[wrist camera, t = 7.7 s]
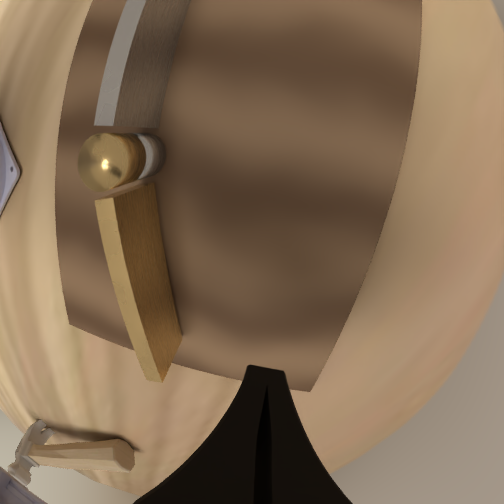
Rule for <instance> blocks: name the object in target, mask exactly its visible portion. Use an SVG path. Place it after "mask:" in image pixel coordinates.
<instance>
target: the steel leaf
mask: <svg viewBox="0 0 504 504" xmlns="http://www.w3.org/2000/svg"><path fill="white" fill-rule="evenodd" d="M190 3H191V0H127V2H126V4H125V7H124V9H123V12H122V15H121V17H120V20H119V23H118V26H117V29H116V32H115V35H114V38H113V41H112V45H111V48H110V52H109V55H108V59H107V63H106V67H105V71H104V75H103V79H102V84H101V88H100V93H99V98H98V104H97V109H96V115H95V122H94V125H98V126H127V127H145V128H159V122H160V117H161V112H162V106H163V101H164V97H165V92H166V87H167V83H168V79H169V74H170V70H171V66H172V62H173V58H174V55H175V51H176V47H177V44H178V40H179V37H180V33H181V30H182V27H183V24H184V20H185V17H186V14H187V11H188V8H189V5H190ZM131 134H134V135H135V136H137V137H138V138H139V139H140V140H141V141H142V143H143V145H144V147H145V150H146V164H145V167H144V170H143V172H142V174H141V175H140V176H139V177H138V178H137V179H136V180H135V181H138V180H141V179H144V178H148V177H151V176H153V175H155V174H157V173H158V172H159V171H160V170H161V169H162V167H163V165H164V163H165V160H166V148H165V145H164V143H163V142H162V140H161V139H160V138H159V137H158V136H156V135H154V134H151V133H131ZM135 181H133V182H135Z"/></svg>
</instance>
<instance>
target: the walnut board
mask: <svg viewBox="0 0 504 504" xmlns="http://www.w3.org/2000/svg"><path fill="white" fill-rule="evenodd" d="M126 2H127V0H93V1H92V4H91V6H90V9H89V11H88V14H87V16H86V19H85V22H84V25H83V27H82V30H81V33H80V36H79V40H78V43H77V46H76V49H75V53H74V56H73V60H72V64H71V68H70V72H69V76H68V81H67V85H66V90H65V95H64V101H63V106H62V113H61V119H60V127H59V135H58V145H57V157H56V176H55V216H56V235H57V248H58V258H59V267H60V274H61V281H62V288H63V294H64V299H65V305H66V310H67V315H68V320H69V324H70V325H73V326H75V327H77V328H79V329H82V330H84V331H86V332H88V333H91V334H93V335H96V336H98V337H100V338H103V339H105V340H108V341H110V342H113V343H116V344H118V345H121V346H123V347H126V348H129V349H132V350H134V347H133V345H132V342H131V339H130V337H129V334H128V331H127V328H126V325H125V322H124V319H123V316H122V313H121V310H120V307H119V304H118V300H117V297H116V294H115V290H114V287H113V283H112V279H111V276H110V272H109V268H108V264H107V260H106V256H105V252H104V247H103V243H102V238H101V233H100V228H99V223H98V218H97V212H96V206H95V200H97V199H100V198H102V197H105V196H107V195H110V194H113V193H115V192H118V191H121V190H124V189H126V188H129V187H132V186H135V185H138V184H145V183H155V191H156V199H157V207H158V214H159V222H160V228H161V235H162V241H163V247H164V253H165V259H166V264H167V270H168V275H169V280H170V285H171V290H172V295H173V300H174V304H175V309H176V313H177V318H178V322H179V326H180V331H181V335H182V339H183V340H182V342H181V344H180V346H179V348H178V350H177V352H176V354H175V357H174V359H173V361H172V363H174V364H178V365H181V366H185V367H188V368H192V369H196V370H199V371H203V372H207V373H211V374H215V375H219V376H223V377H228V378H232V379H237V380H241V381H243V378H244V374H245V371H246V368H247V366H248V365H250V364H251V365H256V366H261V367H267V368H272V369H277V370H283V371H284V372H285V374H286V379H287V382H288V386H289V389H292V390H299V391H307V392H310V391H311V390H312V388H313V386H314V384H315V382H316V381H317V379H318V377H319V375H320V373H321V371H322V369H323V368H324V366H325V364H326V362H327V360H328V358H329V356H330V354H331V352H332V350H333V348H334V346H335V344H336V342H337V340H338V338H339V336H340V333H341V331H342V329H343V327H344V325H345V323H346V320H347V318H348V316H349V314H350V312H351V309H352V307H353V305H354V302H355V300H356V298H357V295H358V293H359V290H360V288H361V286H362V283H363V281H364V278H365V276H366V273H367V270H368V268H369V265H370V262H371V260H372V257H373V254H374V252H375V249H376V246H377V243H378V240H379V237H380V234H381V231H382V228H383V225H384V222H385V219H386V216H387V213H388V210H389V206H390V203H391V200H392V196H393V193H394V189H395V186H396V182H397V178H398V174H399V171H400V167H401V163H402V158H403V154H404V150H405V145H406V141H407V136H408V131H409V126H410V121H411V116H412V110H413V104H414V98H415V91H416V84H417V76H418V67H419V57H420V45H421V27H422V0H191V3H190V5H189V8H188V11H187V14H186V17H185V20H184V24H183V27H182V30H181V33H180V37H179V40H178V44H177V47H176V51H175V55H174V58H173V62H172V66H171V70H170V74H169V79H168V83H167V87H166V92H165V97H164V101H163V106H162V112H161V117H160V122H159V128H145V127H127V126H98V125H94V122H95V115H96V109H97V104H98V98H99V93H100V88H101V84H102V79H103V75H104V71H105V67H106V63H107V59H108V55H109V52H110V48H111V45H112V41H113V38H114V35H115V32H116V29H117V26H118V23H119V20H120V17H121V15H122V12H123V9H124V7H125V4H126ZM98 133H151V134H154V135H156V136H158V137H159V138H160V139H161V140H162V142H163V143H164V145H165V148H166V160H165V163H164V165H163V167H162V169H161V170H160V171H159V172H158V173H157V174H155V175H153V176H151V177H148V178H144V179H141V180H138V181H135V182H131V183H128V184H125V185H122V186H119V187H116V188H113V189H110V190H108V191H104V192H95V191H92V190H91V189H89V188H88V187H87V186H86V185H85V184H84V183H83V181H82V180H81V177H80V175H79V171H78V156H79V152H80V149H81V147H82V145H83V144H84V142H85V141H86V140H87V139H88V138H89V137H91V136H92V135H94V134H98ZM134 351H135V350H134Z"/></svg>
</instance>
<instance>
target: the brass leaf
mask: <svg viewBox="0 0 504 504" xmlns="http://www.w3.org/2000/svg"><path fill="white" fill-rule="evenodd" d="M145 164H146V150H145V147H144V145H143V143H142V141H141V140H140V139H139V138H138V137H137V136H135V135H134V134H131V133H98V134H94V135H92V136H91V137H89V138H88V139H87V140H86V141H85V142H84V144H83V145H82V147H81V149H80V152H79V156H78V171H79V175H80V177H81V180H82V181H83V183H84V184H85V185H86V186H87V187H88V188H89V189H91V190H92V191H95V192H104V191H108V190H110V189H113V188H116V187H119V186H122V185H125V184H128V183H131V182H133V181H135V180H136V179H137V178H138V177H139V176H140V175H141V174H142V172H143V170H144V167H145ZM95 206H96V212H97V218H98V223H99V228H100V233H101V238H102V243H103V247H104V252H105V256H106V260H107V264H108V268H109V272H110V276H111V279H112V283H113V287H114V290H115V294H116V297H117V300H118V304H119V307H120V310H121V313H122V316H123V319H124V322H125V325H126V328H127V331H128V334H129V337H130V339H131V342H132V345H133V347H134V350H135V353H136V355H137V358H138V360H139V363H140V365H141V368H142V370H143V373H144V375H145V377H146V380H149V381H155V382H161V383H163V380H164V378H165V376H166V374H167V372H168V369H169V367H170V365H171V363H172V361H173V359H174V357H175V354H176V352H177V350H178V348H179V346H180V344H181V342H182V340H183V339H182V335H181V331H180V326H179V322H178V318H177V313H176V309H175V304H174V300H173V295H172V290H171V285H170V280H169V275H168V270H167V264H166V259H165V253H164V247H163V241H162V235H161V228H160V222H159V214H158V207H157V199H156V191H155V183H145V184H138V185H135V186H132V187H129V188H126V189H124V190H121V191H118V192H115V193H113V194H110V195H107V196H105V197H102V198H100V199H97V200H95Z"/></svg>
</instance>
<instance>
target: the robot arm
mask: <svg viewBox="0 0 504 504" xmlns="http://www.w3.org/2000/svg"><path fill="white" fill-rule="evenodd" d="M19 176H20V169H19V167H18V165H17V163H16V160H15V158H14V156H13V153H12V151H11V149H10V146H9V144H8V141H7V139H6V136H5V133H4V131H3V128H2V125H1V122H0V215H1V212H2V210H3V208H4V206H5V204H6V202H7V200H8V198H9V196H10V194H11V192H12V190H13V188H14V186H15V184H16V182H17V180H18V178H19ZM0 504H47V503H46V502H44V501H43V500H41V499H40V498H39V497H37V496H36V495H34V494H33V493H32V492H30V491H29V490H28V489H27V488H26V487H25V486H24V485H23V484H21V483H20V482H19V481H18V480H16V479H15V478H14V477H13V476H12V475H10V474H9V473H8V472H7V471H5V470H4V469H3V468H1V467H0ZM133 504H352V502H351V501H350V500H349V499H348V498H347V497H346V496H345V495H344V494H343V492H342V491H341V490H340V488H339V487H338V486H337V484H336V483H335V482H334V480H333V479H332V478H331V476H330V475H329V473H328V472H327V470H326V469H325V467H324V466H323V464H322V463H321V461H320V459H319V458H318V456H317V454H316V452H315V450H314V449H313V447H312V445H311V443H310V441H309V439H308V437H307V434H306V432H305V430H304V428H303V426H302V423H301V421H300V418H299V416H298V413H297V410H296V408H295V405H294V402H293V399H292V396H291V393H290V390H289V386H288V382H287V379H286V374H285V372H284V371H283V370H277V369H272V368H267V367H261V366H256V365H251V364H250V365H248V366H247V368H246V371H245V374H244V378H243V381H242V384H241V386H240V388H239V390H238V392H237V394H236V396H235V398H234V400H233V401H232V403H231V405H230V407H229V408H228V410H227V411H226V413H225V414H224V416H223V417H222V419H221V420H220V422H219V423H218V424H217V426H216V427H215V429H214V430H213V431H212V432H211V434H210V435H209V436H208V437H207V439H206V440H205V441H204V442H203V443H202V444H201V446H200V447H199V448H198V449H197V450H196V451H195V452H194V453H193V454H192V455H191V456H190V457H189V458H188V459H187V460H186V461H185V462H184V463H183V464H182V465H181V466H180V467H179V468H178V469H177V470H176V471H174V472H173V473H172V474H171V475H170V476H169V477H167V478H166V479H165V480H164V481H163V482H161V483H160V484H159V485H157V486H156V487H155V488H153V489H152V490H150V491H149V492H148V493H146V494H145V495H143V496H142V497H140V498H139V499H137V500H136V501H135V502H134V503H133Z"/></svg>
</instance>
